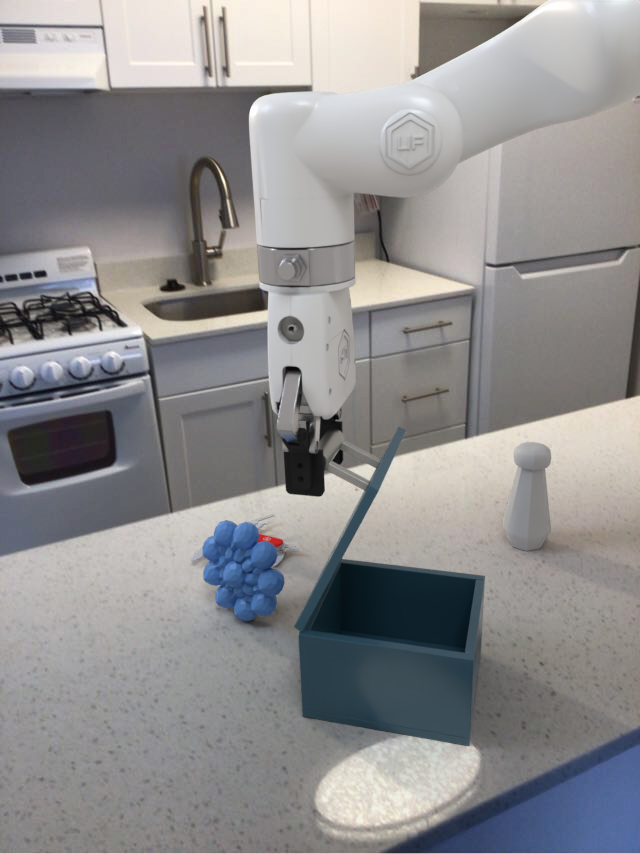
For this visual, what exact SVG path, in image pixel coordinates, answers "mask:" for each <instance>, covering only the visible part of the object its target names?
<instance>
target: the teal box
mask: <svg viewBox="0 0 640 854" xmlns="http://www.w3.org/2000/svg"><path fill="white" fill-rule="evenodd" d="M485 584H486V575H482V574H474V573H465V572H457V571H448V570H440V569H432V568H425V567H423V568H422V567H416V566H406V565H398V564H389V563H381V562H373V561H365V560H364V561H363V560H355V559H347V558H342V559H341V561H340V563H339V565H338V567H337V568H336V570H335V572H334V574H333V576H332V578H331V580H330V581H329V583H328V585H327V587H326V589H325V591H324V592H323V594H322V596H321V598H320V600H319V602H318V603H317V605H316V607H315V609H314V611H313V613H312V615H311V616H310V618H309V620H308V622H307V624H306V626H305V627H304V629H303V631H300V630H299V632H298V634H297V635H298V654H299V655H298V656H299V674H300V691H301V692H300V695H301V713H302V715H301V716H302V717H303V718H309V719H313V720H314V719H315V720H321V721H325V722H332V723H338V724H343V725H349V726H355V727H359V728H366V729H371V730H377V731H383V732H388V733H393V734H400V735H405V736H410V737H411V736H412V737H417V738H423V739H428V740H434V741H440V742H445V743H451V744H456V745H462V746H467V747H468V746H469V747H470V743H471V736H472V735H471V734H472V726H473V718H474V711H475V704H476V703H475V701H476V696H477V695H476V694H477V687H478V678H479V670H480V662H481V655H482V640H483V624H484V623H483V621H484V603H485V602H484V601H485V586H486V585H485Z"/></svg>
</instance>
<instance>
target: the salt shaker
mask: <svg viewBox="0 0 640 854" xmlns="http://www.w3.org/2000/svg"><path fill="white" fill-rule="evenodd" d="M551 451H552V450H551V449H550V447H548V446H547V445H545V444H544V443H541V442H536V441H535V442H534V441H526V442H521V443H519V444H518V445H516V446H515V448H514V451H513V461H514V464H515V465H516V466H517V468H516V471H515V475H514V478H513V482H512V485H511V489H510V493H509V496H508V500H507V504H506V507H505V509H504V510H505V511H504V515H503V519H502V528H503V532H504V533H505V535H506V537H507V539H508V541H509V543H510V545H511V547H512V548H515V549H519V550H522V551H525V552H528V551H529V552H531V551H535V550H540V549H541V548H542V546H543V545H544V543H545V541H546V540H547V538H548V537H549V535H551V532H552V524H551V515H550V503H549V493H548V483H547V473H546V469H547V468H548V467H550V465H551V464H552V463H551V462H552V452H551Z"/></svg>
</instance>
